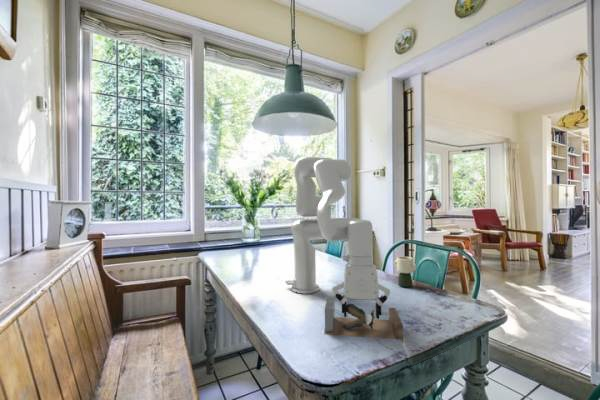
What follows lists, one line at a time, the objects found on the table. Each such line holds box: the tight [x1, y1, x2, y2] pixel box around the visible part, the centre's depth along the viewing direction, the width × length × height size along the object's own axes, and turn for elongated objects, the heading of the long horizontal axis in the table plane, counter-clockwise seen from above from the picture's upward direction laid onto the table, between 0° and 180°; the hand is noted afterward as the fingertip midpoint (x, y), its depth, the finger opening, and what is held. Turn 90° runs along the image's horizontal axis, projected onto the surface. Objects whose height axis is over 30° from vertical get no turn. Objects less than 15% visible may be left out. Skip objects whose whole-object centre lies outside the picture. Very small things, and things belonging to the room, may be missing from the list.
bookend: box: [324, 296, 336, 333], centre depth 86 cm, size 2×10×7 cm, turn 170°
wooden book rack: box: [323, 307, 404, 344], centre depth 84 cm, size 22×12×6 cm, turn 80°
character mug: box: [394, 256, 417, 287], centre depth 127 cm, size 11×7×13 cm, turn 35°
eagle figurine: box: [343, 303, 376, 329], centre depth 84 cm, size 8×7×9 cm
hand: (361, 316), depth 84 cm, fingers open, 9 cm apart
